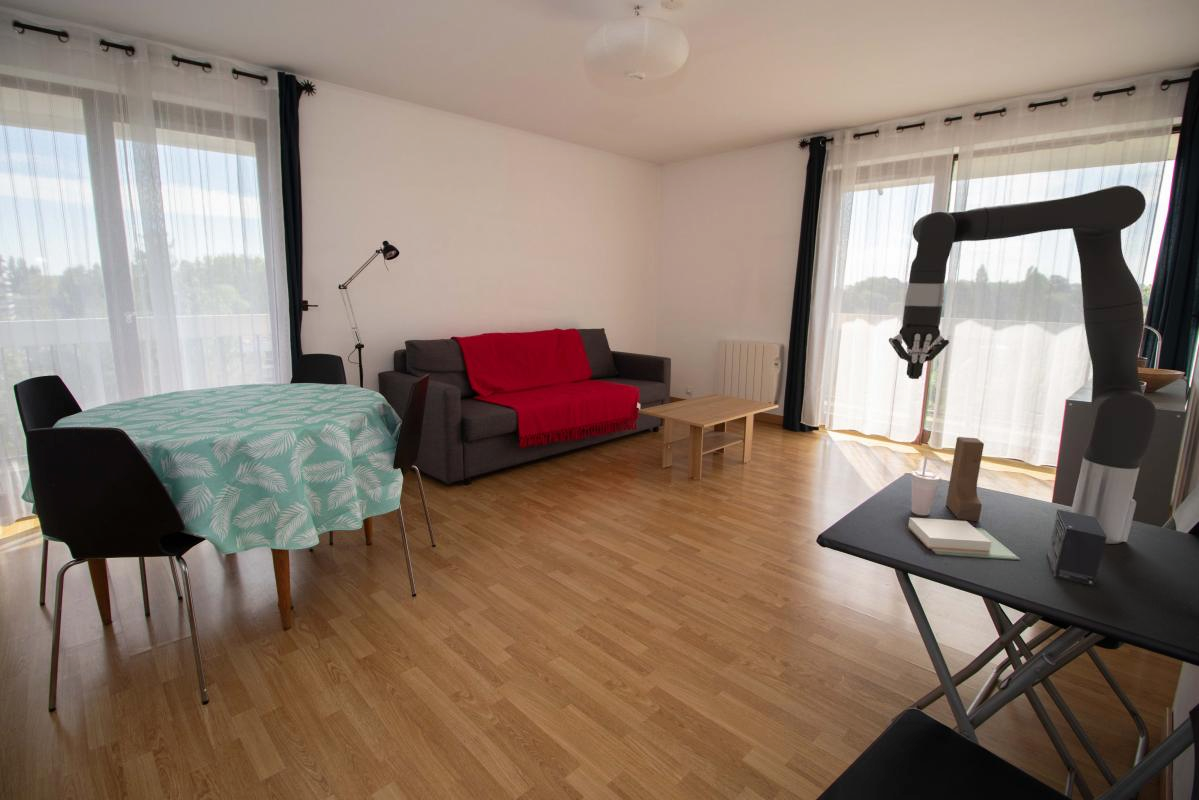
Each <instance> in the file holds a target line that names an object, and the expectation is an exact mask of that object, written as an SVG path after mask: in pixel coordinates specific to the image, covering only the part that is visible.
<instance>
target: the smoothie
mask: <svg viewBox="0 0 1199 800" xmlns="http://www.w3.org/2000/svg"><path fill="white" fill-rule="evenodd" d="M923 460H924V461H923V465H922V470H919V469H918V470H912V471H911V472H910V476H909V477H910V478H911V510H910V511H911V513H913V514H915V515H918V516H928V515H929V514H930V512H931V510H932V509H931V508H932V505H933V502H934V499H935V496H936V492H937V490H938V487H939V486H938V485H939V483H941V482H942V476H941V475H939V474H937V473H935V472H931V471H927V462H928V456H924V459H923Z"/></svg>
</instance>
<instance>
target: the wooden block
mask: <svg viewBox="0 0 1199 800" xmlns="http://www.w3.org/2000/svg"><path fill="white" fill-rule="evenodd" d="M984 445H985V444H984V443H983V442H982V440H980V439H978V438H975V437H963V436H958V437H956V442H955V448H954V454H953V459H952V465H951V471H950V478H949V484H948V488H947V490H948V491H947V496H946V502H945V505H946V506H947V508H948V509H949V510H950V511H951V513H952V514H953V515H954V516H955V517H956V518H957V520H960V521H972V522H979V521H980V517H981V511H982V506H983V504H982V502H981V501H980V499H979V497H978V481H979V475H980V468H981V463H982V458H983V452H984Z"/></svg>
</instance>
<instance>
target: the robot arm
mask: <svg viewBox="0 0 1199 800" xmlns="http://www.w3.org/2000/svg"><path fill="white" fill-rule="evenodd" d="M1146 203H1147V202H1146V198H1145V196H1144V194H1143V192H1142V191H1140V190H1139V189H1137V188H1135V187H1134V186H1131V185H1125V184H1116V185H1115V184H1114V185H1110V186H1107V187H1103V188H1099V189H1098V190H1096V191H1095V190H1094V191H1091V192H1087V193H1082V194H1078V195H1074V196H1068V197H1063V198H1054V199H1049V200H1040V201H1039V200H1038V201H1030V202H1020V203H1019V202H1018V203H1010V204H1009V203H1007V204H999V205H988V206H980V207H976V208H971V209H967V210H963V211H953V212H947V211H944V210H937V211H934V212H933V211H932V212H930V213H927V214H925V215H923V216H922V217H920V218H919V219H918V220H917V221H916V222H915V224H914V225H913V227H912V236H913V239H914V240H915V241H916V243H917V247H916V248H917V249H916V254H915V256H914V257H915V258H914V259H913V260H912V262H911V266H910V271H909V280H908V285H907V286H908V287H907V289H906V294H905V300H904V309H903V315H902V316H903V317H902V326H901V328H900V330H899V331H898V334H897V335H896V336H894V337H890V338H889V339H888V342H889V343H890V346H892V348H893V349H894V351H895V353H896V354H897V356H898V357H899V358H900V360H905V361H906V362H907V367H906V375H907V376H908V378H909V379H911V380H919V378H920V377H922V375H923V368H924V364H925V363H926V362H931V361H933V360H934V359H935V358H936V357H937V356H938V355H939V354H940V353H941V352H942V351H943V350H944V349H945V348H946V346H948V345H949V343H950V341H949V339H945V338H944V337H943V336H941V330H940V325H941V318H942V310H943V306H944V305H943V304H944V297H945V282H946V281H945V280H946V275H947V265H948V259H949V256H950V254H951V252H952V247H953V244H954V243H959V242H977V241H979V242H980V241H990V240H999V239H1000V240H1001V239H1008V238H1016V237H1021V236H1026V235H1027V236H1028V235H1031V234H1038V233H1043V232H1049V231H1050V232H1051V231H1057V230H1072V232H1073V236H1074V240H1075V245H1076V249H1077V253H1078V260H1079V267H1080V283H1081V294H1082V308H1083V312H1082V313H1083V320H1084V322H1083V323H1084V327H1085V336H1086V341H1087V347H1088V352H1089V356H1090V361H1091V366H1092V368H1091V369H1092V387H1091V388H1092V389H1091V402H1090V403H1091V405H1090V408H1091V409H1090V411H1091V414H1092V416H1093V418H1094V419H1095V420H1094V424H1093V429H1092V433H1091V436H1090V440H1089V442H1088V444H1087V445H1086V446H1085V447H1084V452H1083V456H1082V461H1081V464H1080V465H1081V466H1080V472H1079V476H1078V479H1077V485H1076V487H1075V493H1074V496H1073V500H1072V501H1073V502H1072V505H1071V510H1070V512H1073V513H1077V514H1082V515H1087V516H1092V517H1096V519H1097V521H1098V522H1099V524H1100V526H1101V528H1102V529H1103V531H1104V532H1105V534H1106V536H1107V538H1106V542H1105V544H1109V545H1110V544H1112V545H1113V544H1114V545H1115V544H1120V543H1123V542H1124V543H1127V542H1128V539H1129V538H1128V537H1129V534H1130V530H1131V526H1132V523H1133V517H1134V514H1135V511H1136V506H1137V501H1136V500H1135V499H1133V497H1134V493H1135V488H1136V483H1137V481H1138V476H1139V472H1140V468H1141V464H1142V460H1144V459H1143V458H1145V457H1146V455H1147V452H1148V450H1149V447H1150V443H1151V439H1152V436H1153V434H1154V433H1153V432H1154V429H1155V424H1156V421H1157V410H1156V409H1157V408H1156V405H1155V404H1154V403H1153V401H1152V400H1151V399H1150V398H1148V397H1147V396H1146V395H1144V392H1143V390H1142V389H1143V388H1142V386H1141V380H1140V376H1139V375H1140V374H1139V368H1138V367H1139V364H1138V360H1139V354H1140V348H1141V344H1142V341H1143V335H1144V334H1143V333H1144V327H1145V326H1144V325H1145V324H1144V323H1145V319H1144V314H1145V313H1144V304H1143V296H1142V292H1141V289H1140V286H1139V284H1138V281H1137V280H1136V278H1135V276H1134V275H1133V273H1132V271H1131V269H1130V268H1129V267H1128V264H1127V262H1126V260H1125V257H1124V255H1123V248H1122V247H1123V245H1122V230H1125V229H1126V228H1129V227H1130V226H1132V225H1133V224H1134V223H1136V222H1137V221H1138V220H1140V218H1141V217H1142V216H1143V214H1144V212H1145V209H1146V205H1147V204H1146ZM903 343H904V344H905V345H906V349H905V348H904V346H903ZM930 346H931V347H930Z"/></svg>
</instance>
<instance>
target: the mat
mask: <svg viewBox="0 0 1199 800" xmlns="http://www.w3.org/2000/svg"><path fill="white" fill-rule="evenodd" d="M907 526H909V523H907ZM974 528H975V529H977V530H978V531H979V532H980V533H981V534H983V535H984V536H985V537H986V538H987V539H989V540H990V541H991V547H990V552H976V551H961V550H946V549H932V548H930V550H931V551H933V553H935V555H941V556H950V557H951V556H952V557H953V556H954V557H955V556H956V557H968V558H969V557H970V558H983V559H996V560H997V559H998V560H1014V561H1020V560H1021V558H1020V557H1019V556H1017V555H1016V554H1014V552H1012V551H1011V550H1009V548H1007V547H1006V546H1005V545H1003V544H1002V543H1001V542H1000V541H999V540H997V539H996V538H995V537H993V536H992V535H991V534H990V533H989V532H987V531H986V530H985V529H984V528H983V527H982V528H981V527H974Z"/></svg>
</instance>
